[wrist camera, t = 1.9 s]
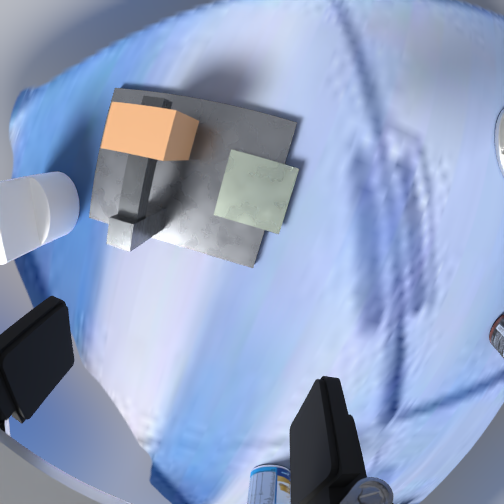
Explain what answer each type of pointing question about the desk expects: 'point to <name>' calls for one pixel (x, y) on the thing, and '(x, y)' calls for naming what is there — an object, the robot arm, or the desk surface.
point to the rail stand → (199, 182)
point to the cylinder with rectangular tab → (35, 212)
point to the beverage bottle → (269, 485)
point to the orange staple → (149, 132)
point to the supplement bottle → (498, 335)
